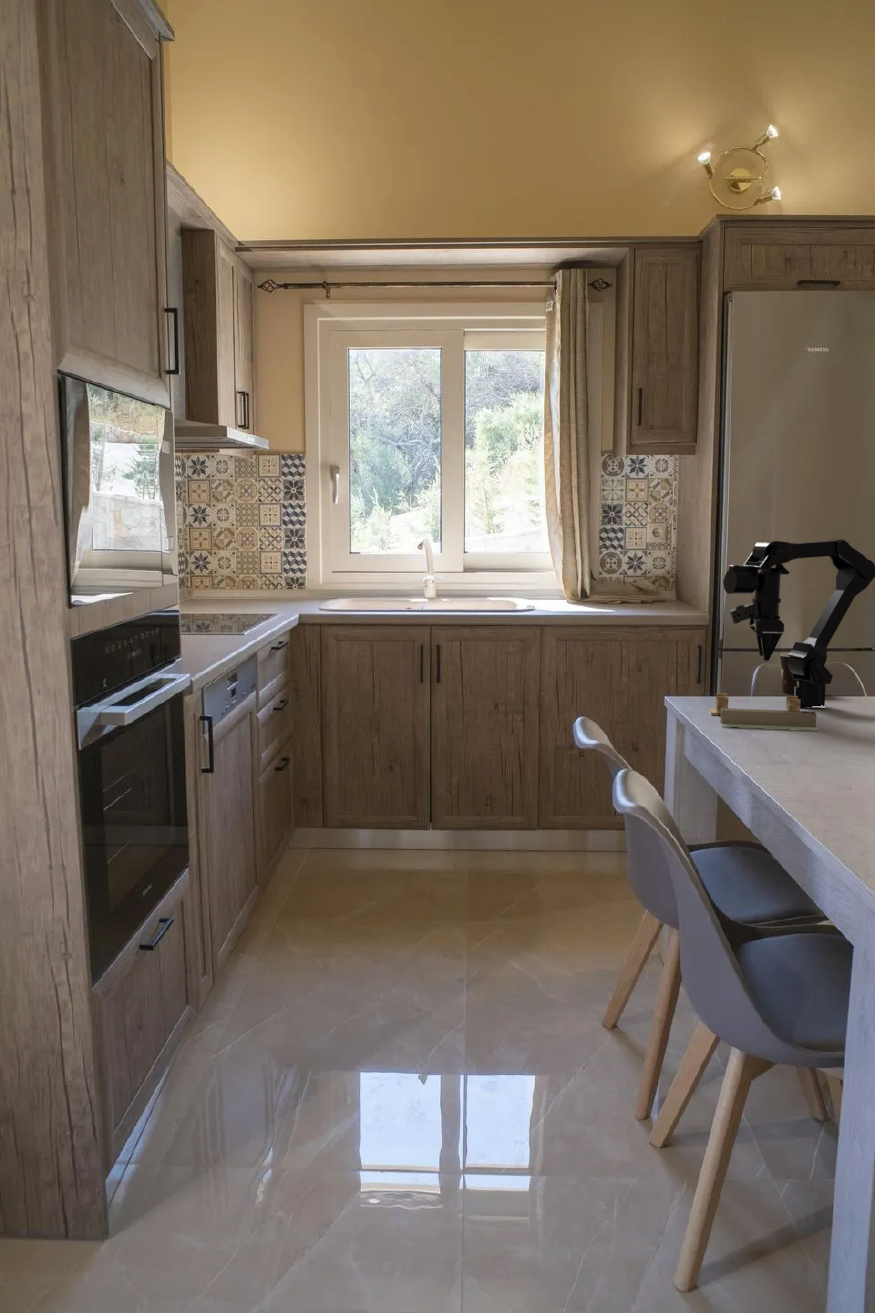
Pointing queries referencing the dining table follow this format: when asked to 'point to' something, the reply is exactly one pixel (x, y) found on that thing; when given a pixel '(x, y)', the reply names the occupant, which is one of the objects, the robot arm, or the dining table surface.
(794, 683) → the coffee mug
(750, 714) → the rail
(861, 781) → the dining table surface
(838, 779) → the dining table surface
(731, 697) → the dining table surface
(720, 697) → the rack
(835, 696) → the dining table surface
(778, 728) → the mat
